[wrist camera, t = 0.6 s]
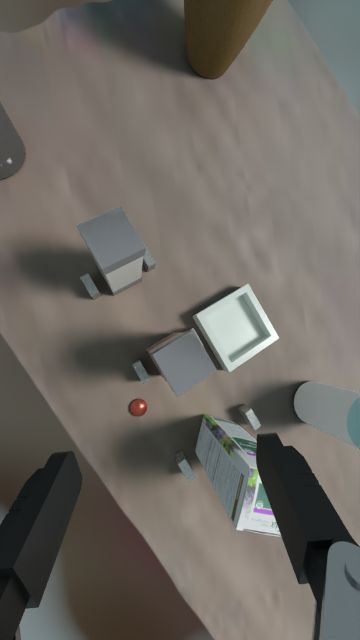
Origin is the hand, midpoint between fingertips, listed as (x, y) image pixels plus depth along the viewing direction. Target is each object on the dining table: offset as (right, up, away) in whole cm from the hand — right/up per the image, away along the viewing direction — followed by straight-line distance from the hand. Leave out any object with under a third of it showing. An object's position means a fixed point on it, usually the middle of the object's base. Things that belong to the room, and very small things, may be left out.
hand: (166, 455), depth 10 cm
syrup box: (+6, -12, +25) cm, 29 cm away
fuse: (-9, +13, +24) cm, 29 cm away
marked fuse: (-1, +1, +25) cm, 25 cm away
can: (+23, -8, +29) cm, 38 cm away
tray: (+9, +5, +27) cm, 29 cm away
